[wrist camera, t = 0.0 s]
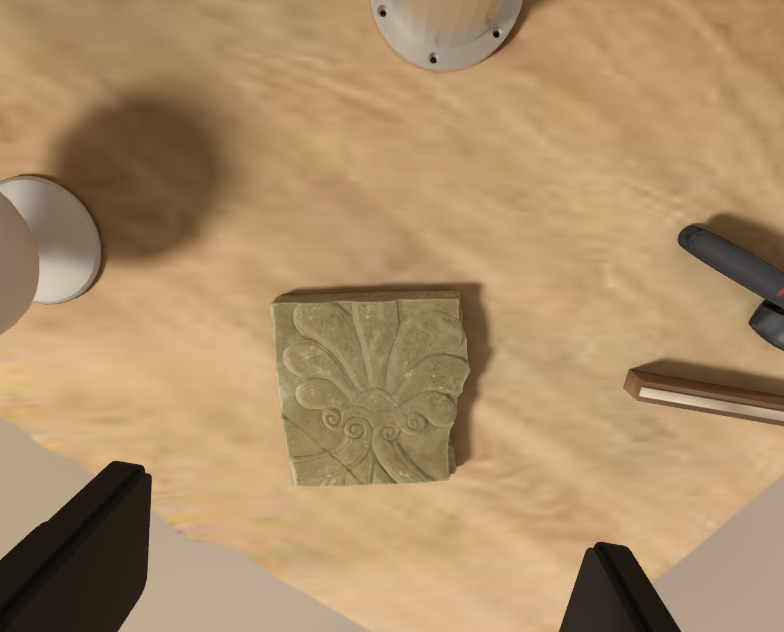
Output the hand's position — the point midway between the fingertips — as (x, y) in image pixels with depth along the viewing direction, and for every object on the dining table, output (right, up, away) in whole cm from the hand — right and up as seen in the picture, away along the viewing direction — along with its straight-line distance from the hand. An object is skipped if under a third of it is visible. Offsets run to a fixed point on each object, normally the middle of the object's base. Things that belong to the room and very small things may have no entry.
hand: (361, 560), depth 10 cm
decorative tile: (-1, -2, +39) cm, 39 cm away
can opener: (+34, +8, +35) cm, 50 cm away
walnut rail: (+33, -3, +38) cm, 51 cm away
